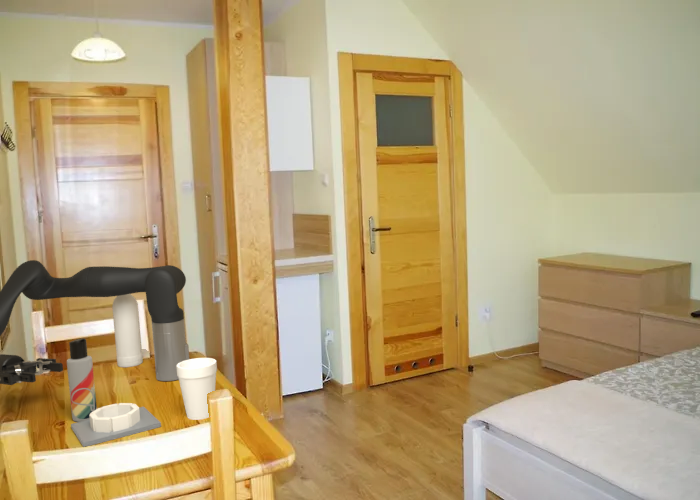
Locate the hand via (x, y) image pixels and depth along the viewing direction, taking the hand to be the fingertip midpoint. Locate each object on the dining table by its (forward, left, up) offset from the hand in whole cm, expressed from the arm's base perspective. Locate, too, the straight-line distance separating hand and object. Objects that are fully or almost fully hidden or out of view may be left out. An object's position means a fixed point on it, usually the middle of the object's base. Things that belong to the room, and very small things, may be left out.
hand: (48, 372), depth 151 cm
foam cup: (-29, +26, -11) cm, 41 cm away
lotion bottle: (-6, +8, -11) cm, 15 cm away
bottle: (-28, -34, -11) cm, 45 cm away
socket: (-11, +20, -11) cm, 25 cm away
